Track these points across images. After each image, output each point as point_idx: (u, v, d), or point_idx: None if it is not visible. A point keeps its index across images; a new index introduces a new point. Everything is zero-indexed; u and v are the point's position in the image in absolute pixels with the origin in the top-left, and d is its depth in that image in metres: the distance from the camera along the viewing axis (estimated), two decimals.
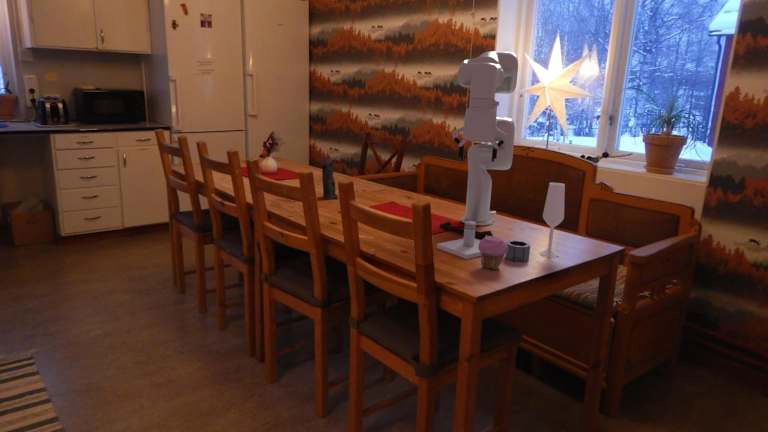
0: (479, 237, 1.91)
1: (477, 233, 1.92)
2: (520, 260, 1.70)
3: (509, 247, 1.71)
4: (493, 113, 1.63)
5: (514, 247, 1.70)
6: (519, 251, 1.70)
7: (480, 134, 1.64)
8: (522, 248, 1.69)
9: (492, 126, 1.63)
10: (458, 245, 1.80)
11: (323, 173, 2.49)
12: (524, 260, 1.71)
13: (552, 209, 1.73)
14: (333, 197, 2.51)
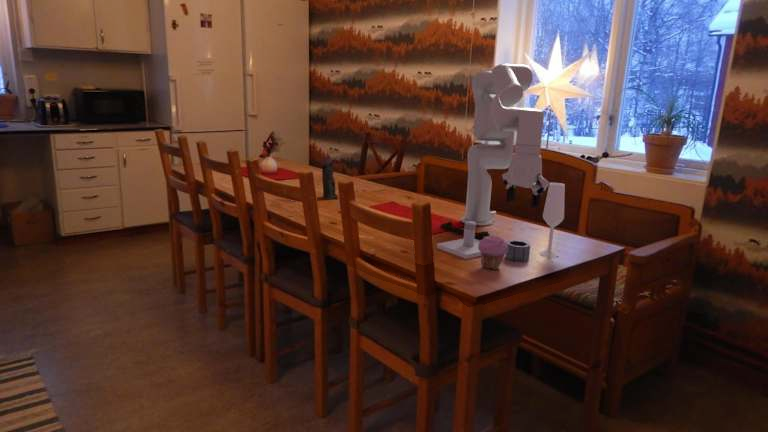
0: (477, 238, 1.90)
1: (475, 234, 1.91)
2: (520, 260, 1.70)
3: (509, 247, 1.71)
4: None
5: (514, 247, 1.70)
6: (519, 251, 1.70)
7: None
8: (522, 248, 1.69)
9: None
10: (458, 245, 1.80)
11: (323, 173, 2.49)
12: (524, 260, 1.71)
13: (552, 209, 1.73)
14: (333, 197, 2.51)
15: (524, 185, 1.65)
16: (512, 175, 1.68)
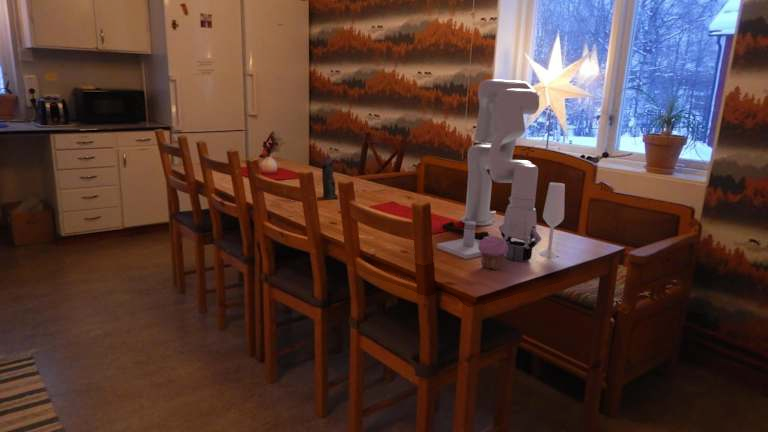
0: (477, 238, 1.90)
1: (475, 234, 1.90)
2: (520, 260, 1.70)
3: (509, 247, 1.71)
4: None
5: (514, 247, 1.70)
6: (519, 251, 1.70)
7: None
8: (522, 248, 1.69)
9: None
10: (458, 245, 1.80)
11: (323, 173, 2.49)
12: (524, 260, 1.71)
13: (552, 209, 1.73)
14: (333, 197, 2.51)
15: (519, 237, 1.69)
16: (507, 226, 1.72)
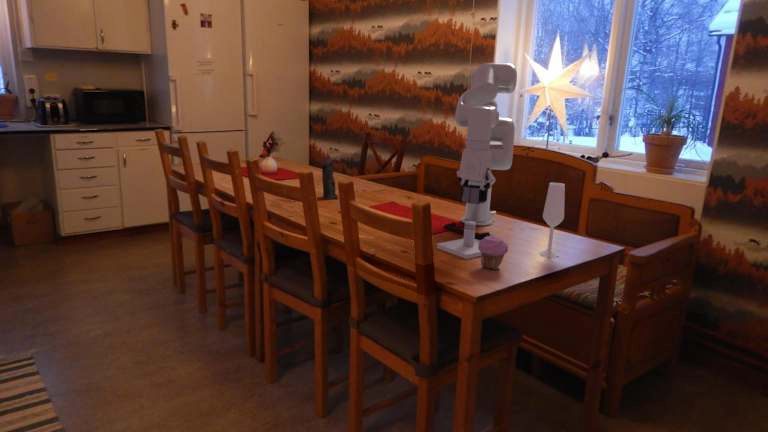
0: (478, 238, 1.89)
1: (476, 234, 1.90)
2: (476, 202, 1.73)
3: (465, 190, 1.74)
4: None
5: (470, 189, 1.73)
6: (475, 193, 1.73)
7: None
8: (477, 190, 1.72)
9: None
10: (458, 245, 1.80)
11: (323, 173, 2.49)
12: (479, 202, 1.74)
13: (552, 209, 1.73)
14: (333, 197, 2.51)
15: (474, 179, 1.72)
16: (463, 170, 1.75)
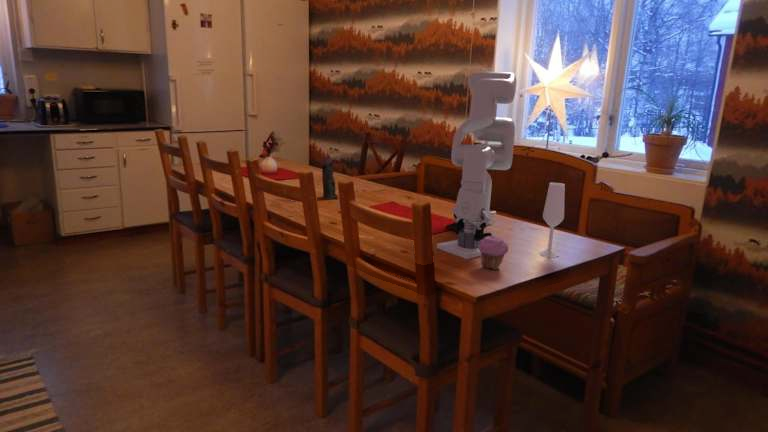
0: None
1: None
2: (470, 247, 1.77)
3: (460, 234, 1.78)
4: None
5: (465, 234, 1.77)
6: (470, 238, 1.77)
7: None
8: (472, 235, 1.76)
9: None
10: None
11: (323, 173, 2.49)
12: (474, 247, 1.77)
13: (552, 209, 1.73)
14: (333, 197, 2.51)
15: (469, 219, 1.75)
16: (459, 209, 1.78)
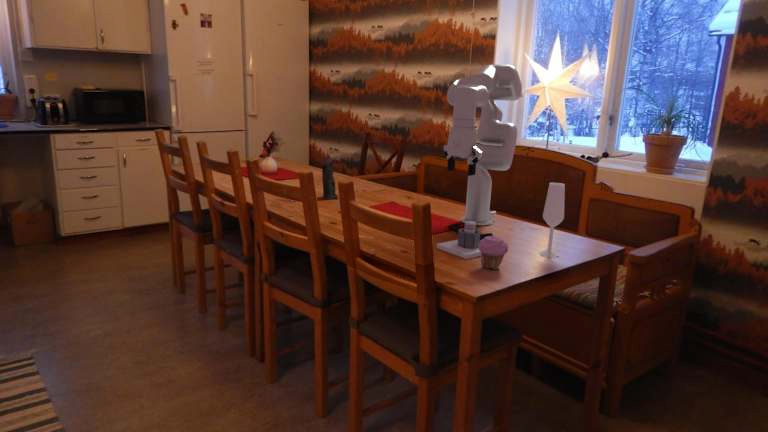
0: (481, 239, 1.88)
1: None
2: (470, 247, 1.77)
3: (460, 234, 1.78)
4: None
5: (465, 234, 1.77)
6: (470, 238, 1.77)
7: None
8: (472, 235, 1.76)
9: None
10: None
11: (323, 173, 2.49)
12: (474, 247, 1.77)
13: (552, 209, 1.73)
14: (333, 197, 2.51)
15: (461, 155, 1.82)
16: (451, 147, 1.85)
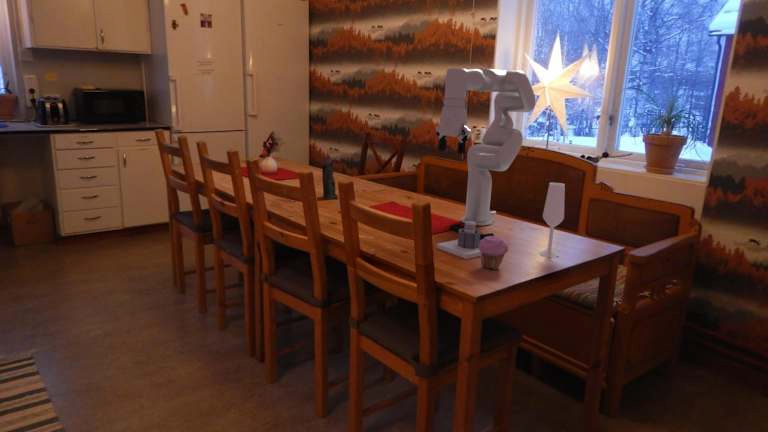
0: None
1: (481, 235, 1.89)
2: (470, 247, 1.77)
3: (460, 234, 1.78)
4: None
5: (465, 234, 1.77)
6: (470, 238, 1.77)
7: None
8: (472, 235, 1.76)
9: None
10: None
11: (323, 173, 2.49)
12: (474, 247, 1.77)
13: (552, 209, 1.73)
14: (333, 197, 2.51)
15: (451, 134, 1.90)
16: (442, 126, 1.93)
